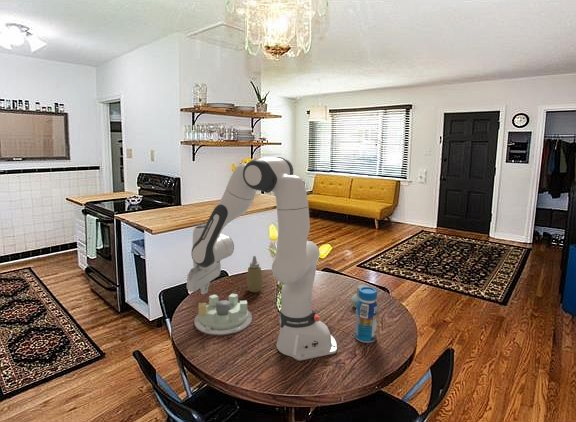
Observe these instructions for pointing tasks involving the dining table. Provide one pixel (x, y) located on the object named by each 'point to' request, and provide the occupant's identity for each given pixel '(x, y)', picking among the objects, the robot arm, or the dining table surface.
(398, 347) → the dining table surface
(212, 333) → the mount plate
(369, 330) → the blue wipes canister
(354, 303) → the air freshener
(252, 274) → the squeeze bottle
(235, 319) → the green toy gear
